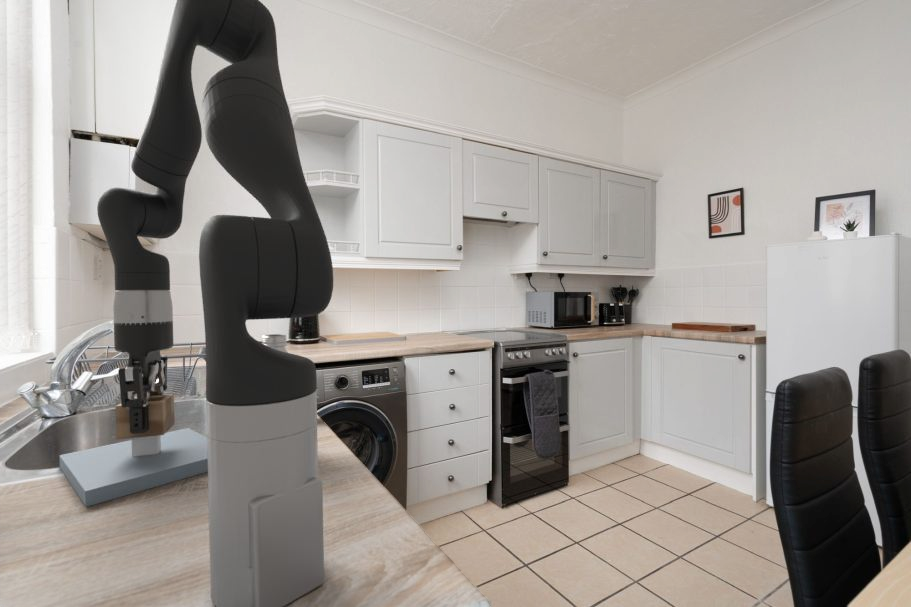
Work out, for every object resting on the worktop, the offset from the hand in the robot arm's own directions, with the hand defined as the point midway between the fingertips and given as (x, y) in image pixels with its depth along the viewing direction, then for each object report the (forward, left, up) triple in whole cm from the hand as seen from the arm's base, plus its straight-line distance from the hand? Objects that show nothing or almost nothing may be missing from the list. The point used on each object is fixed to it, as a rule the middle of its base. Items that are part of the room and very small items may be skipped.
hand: (147, 426), depth 69 cm
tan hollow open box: (0, 0, -1) cm, 1 cm away
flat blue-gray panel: (0, 0, -6) cm, 6 cm away
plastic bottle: (-12, -15, -6) cm, 20 cm away
